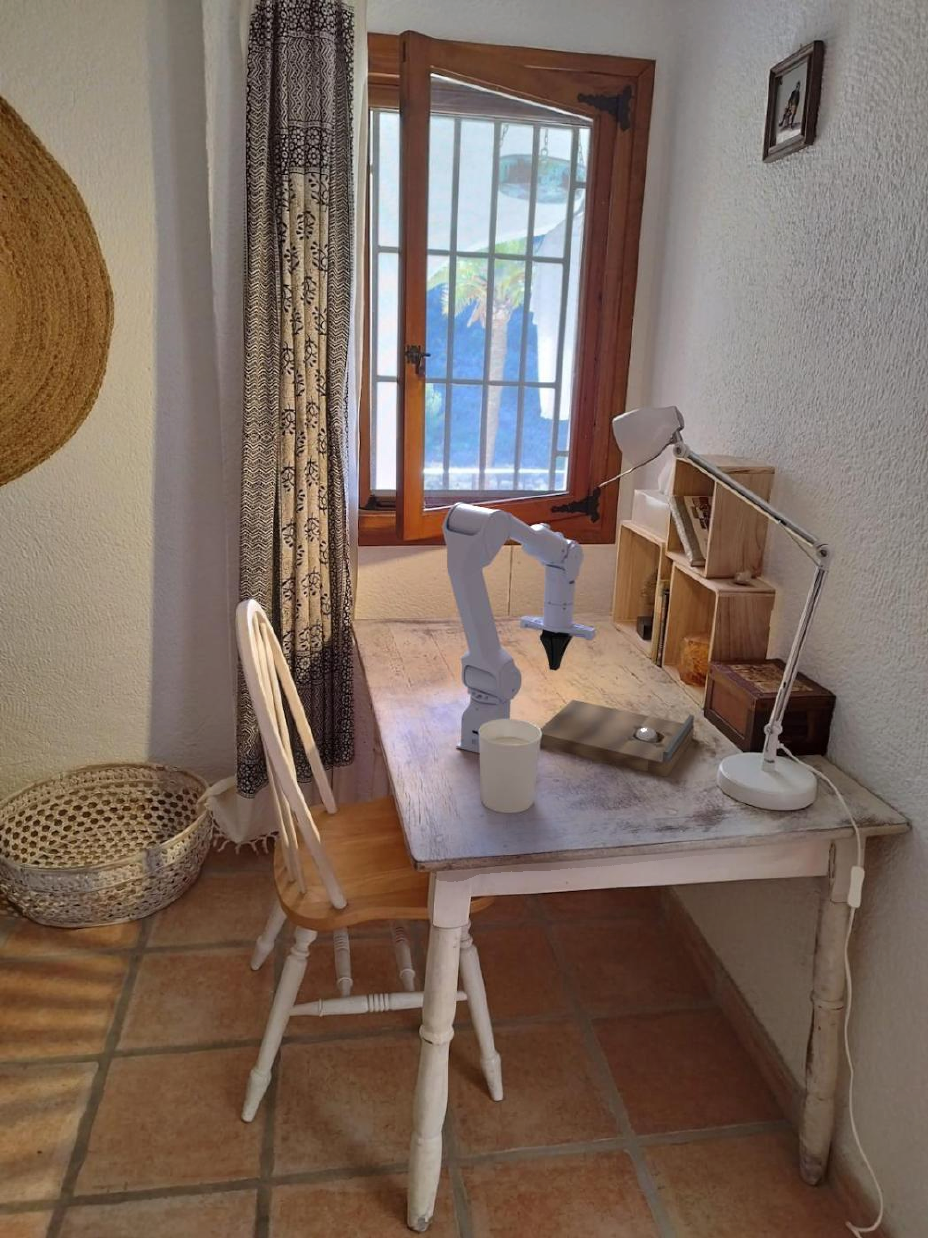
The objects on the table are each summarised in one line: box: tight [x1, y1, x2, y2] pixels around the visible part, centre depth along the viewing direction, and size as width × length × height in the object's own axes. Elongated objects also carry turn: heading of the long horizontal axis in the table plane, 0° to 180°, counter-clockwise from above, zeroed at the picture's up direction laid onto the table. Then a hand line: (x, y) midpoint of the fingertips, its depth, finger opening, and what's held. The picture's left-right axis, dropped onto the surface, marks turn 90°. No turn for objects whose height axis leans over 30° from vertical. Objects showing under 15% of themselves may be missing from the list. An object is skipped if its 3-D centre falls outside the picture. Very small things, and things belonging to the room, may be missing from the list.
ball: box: [635, 727, 658, 743], centre depth 160 cm, size 4×4×4 cm
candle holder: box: [479, 718, 542, 814], centre depth 140 cm, size 10×10×12 cm
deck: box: [540, 699, 695, 778], centre depth 163 cm, size 24×18×4 cm
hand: (554, 668), depth 172 cm, fingers closed
